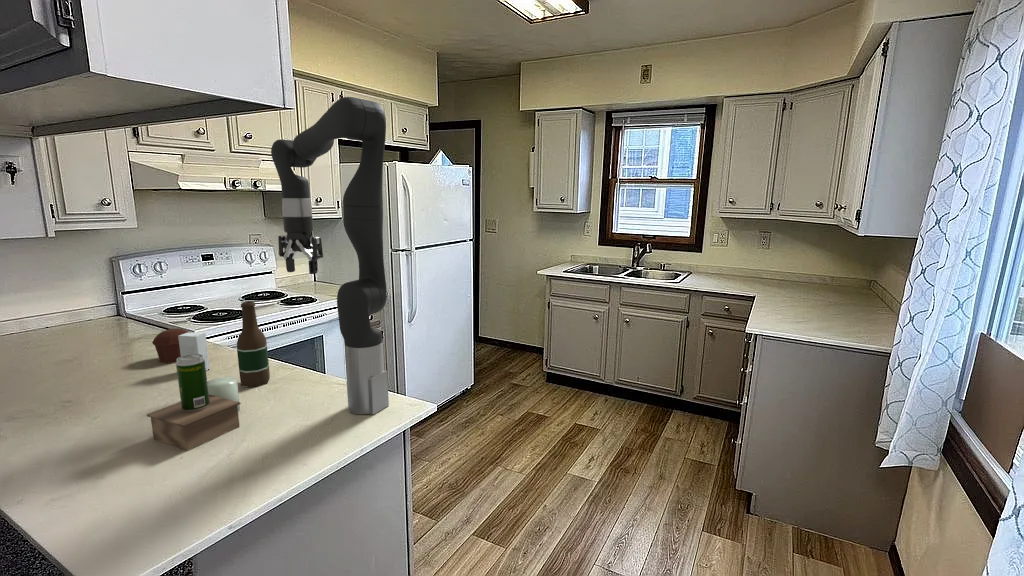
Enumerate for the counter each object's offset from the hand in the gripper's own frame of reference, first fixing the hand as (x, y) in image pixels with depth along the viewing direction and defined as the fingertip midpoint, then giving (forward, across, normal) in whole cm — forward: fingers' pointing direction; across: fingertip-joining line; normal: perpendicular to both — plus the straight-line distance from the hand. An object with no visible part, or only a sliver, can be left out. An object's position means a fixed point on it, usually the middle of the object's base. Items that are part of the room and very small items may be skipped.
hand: (302, 272), depth 138 cm
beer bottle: (+32, +13, +8) cm, 36 cm away
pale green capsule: (+32, +3, +25) cm, 41 cm away
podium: (+32, -2, +35) cm, 48 cm away
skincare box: (+32, +38, +9) cm, 51 cm away
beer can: (+26, -2, +35) cm, 44 cm away
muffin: (+32, +56, +4) cm, 65 cm away
